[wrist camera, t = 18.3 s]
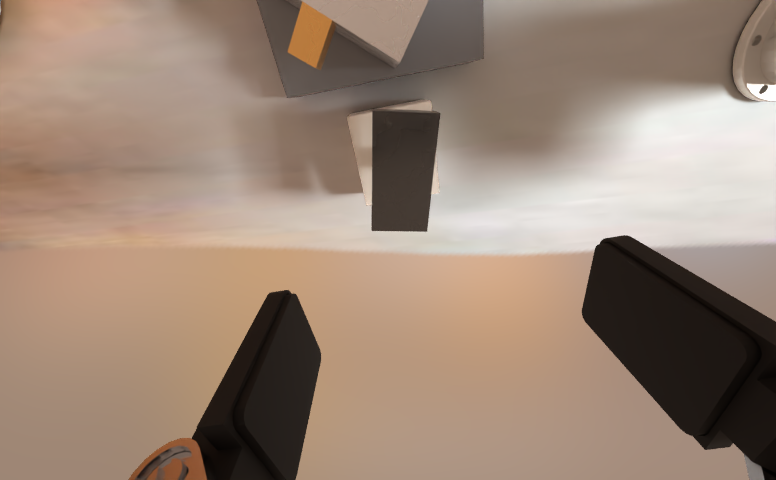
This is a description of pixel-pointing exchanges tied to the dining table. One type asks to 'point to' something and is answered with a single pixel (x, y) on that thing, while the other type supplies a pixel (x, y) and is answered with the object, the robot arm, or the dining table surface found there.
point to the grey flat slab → (357, 66)
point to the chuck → (355, 27)
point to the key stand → (363, 143)
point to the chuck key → (402, 168)
